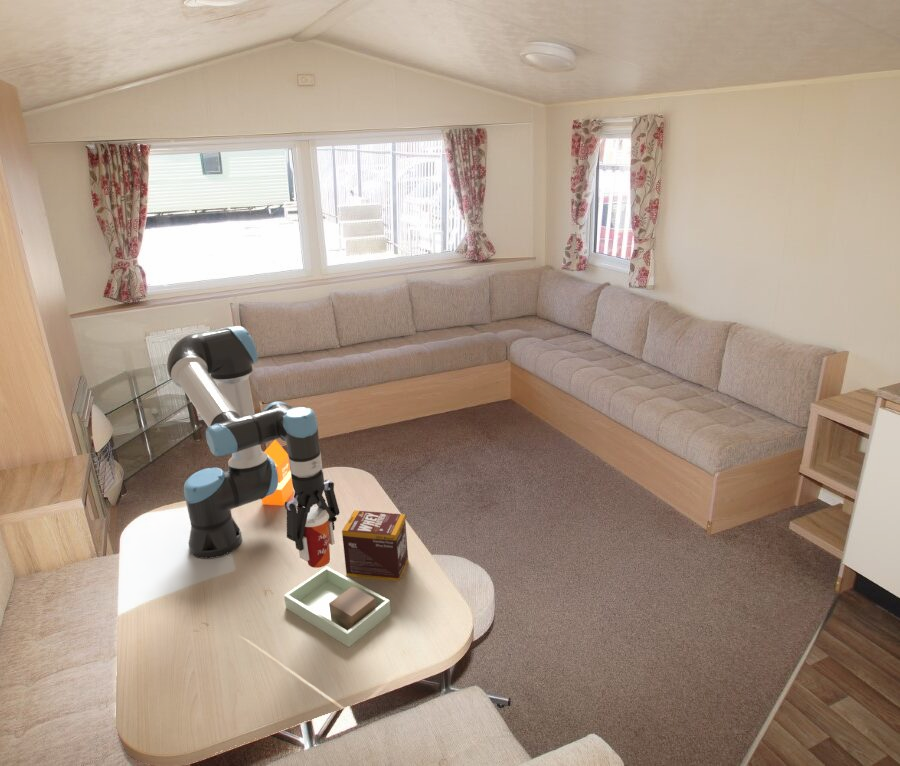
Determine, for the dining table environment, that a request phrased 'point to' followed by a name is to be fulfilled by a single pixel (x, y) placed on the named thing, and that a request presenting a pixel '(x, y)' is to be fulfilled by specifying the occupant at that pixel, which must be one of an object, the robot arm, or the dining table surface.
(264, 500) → the orange juice
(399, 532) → the supplement box
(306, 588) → the tote
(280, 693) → the dining table surface
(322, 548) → the paper cup
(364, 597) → the walnut block
